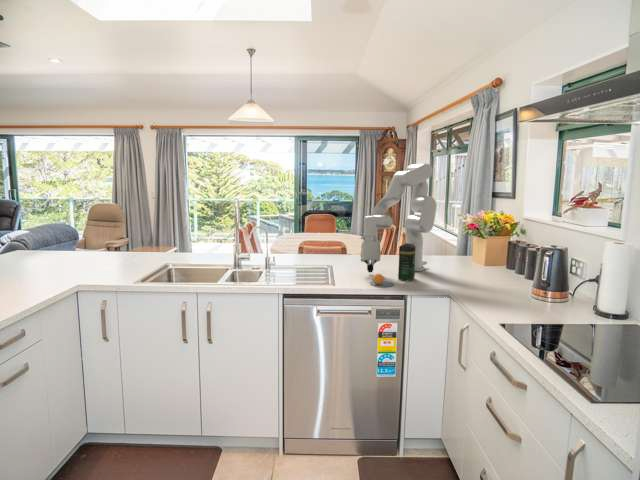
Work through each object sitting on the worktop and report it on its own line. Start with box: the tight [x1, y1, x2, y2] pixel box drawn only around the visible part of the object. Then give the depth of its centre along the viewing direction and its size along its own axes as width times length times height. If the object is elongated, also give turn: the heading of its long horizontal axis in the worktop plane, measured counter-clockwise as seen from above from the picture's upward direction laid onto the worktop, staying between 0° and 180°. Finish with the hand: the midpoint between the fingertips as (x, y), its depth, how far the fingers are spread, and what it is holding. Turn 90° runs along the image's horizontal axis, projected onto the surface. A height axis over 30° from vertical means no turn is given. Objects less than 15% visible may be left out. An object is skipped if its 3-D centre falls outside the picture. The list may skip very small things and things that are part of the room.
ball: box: [372, 273, 385, 285], centre depth 200 cm, size 6×6×6 cm
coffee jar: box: [397, 242, 416, 281], centre depth 211 cm, size 10×8×19 cm
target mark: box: [369, 280, 395, 288], centre depth 201 cm, size 12×12×1 cm
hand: (370, 271), depth 223 cm, fingers closed
